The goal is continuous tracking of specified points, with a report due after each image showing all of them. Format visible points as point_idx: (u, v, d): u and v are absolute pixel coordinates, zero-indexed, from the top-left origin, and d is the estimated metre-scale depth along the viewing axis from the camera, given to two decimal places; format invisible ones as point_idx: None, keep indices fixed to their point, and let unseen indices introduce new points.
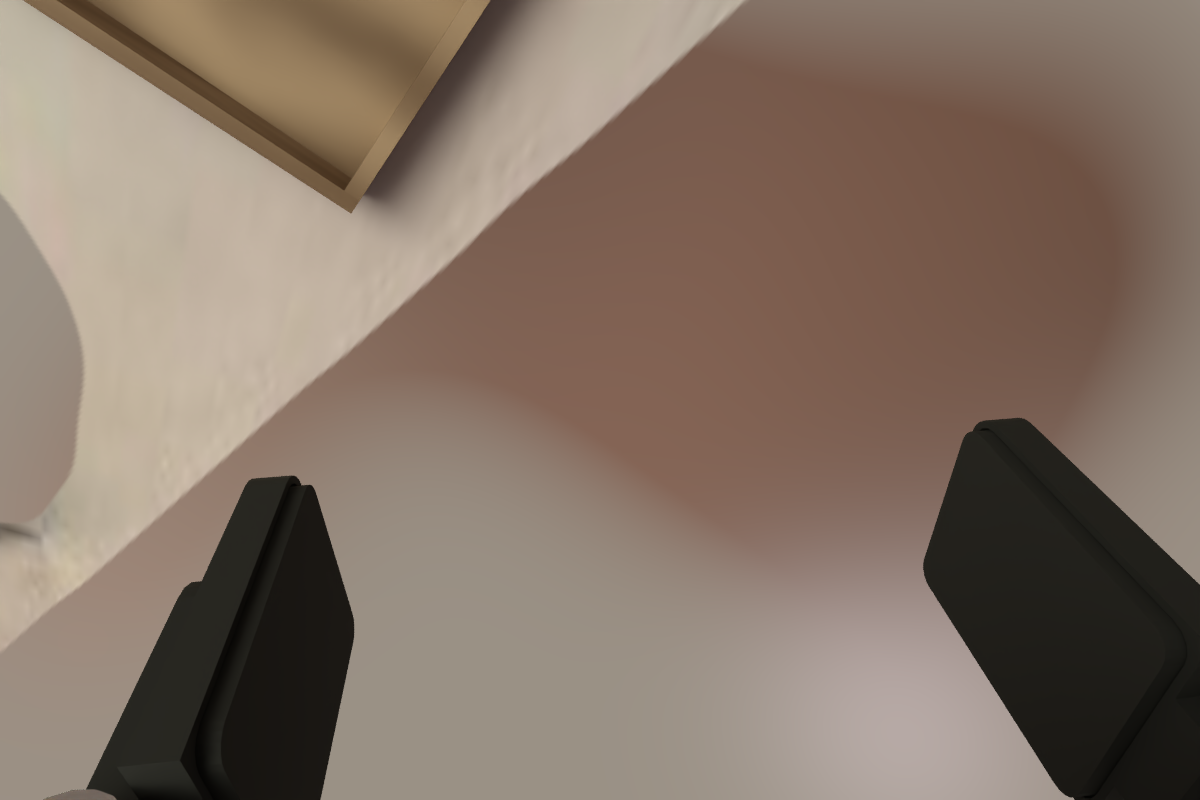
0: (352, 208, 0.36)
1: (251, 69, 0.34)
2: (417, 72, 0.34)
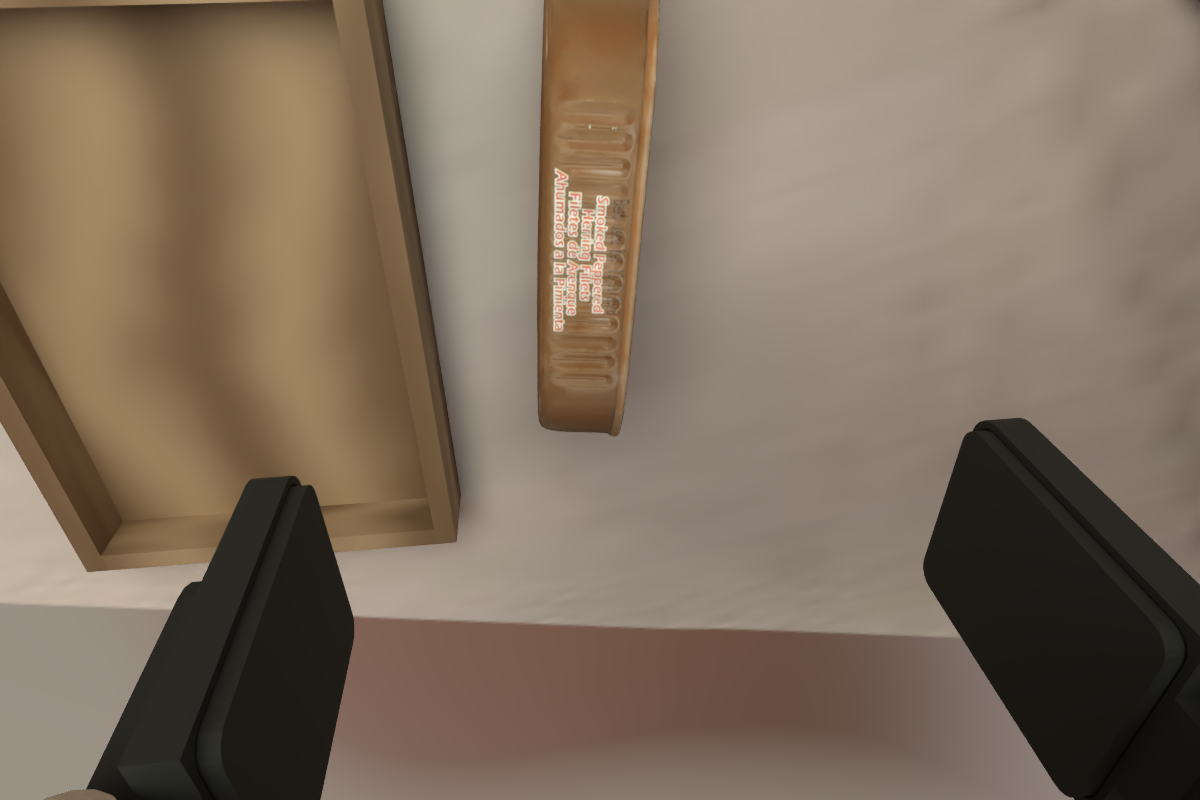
0: (93, 570, 0.29)
1: (109, 398, 0.27)
2: None
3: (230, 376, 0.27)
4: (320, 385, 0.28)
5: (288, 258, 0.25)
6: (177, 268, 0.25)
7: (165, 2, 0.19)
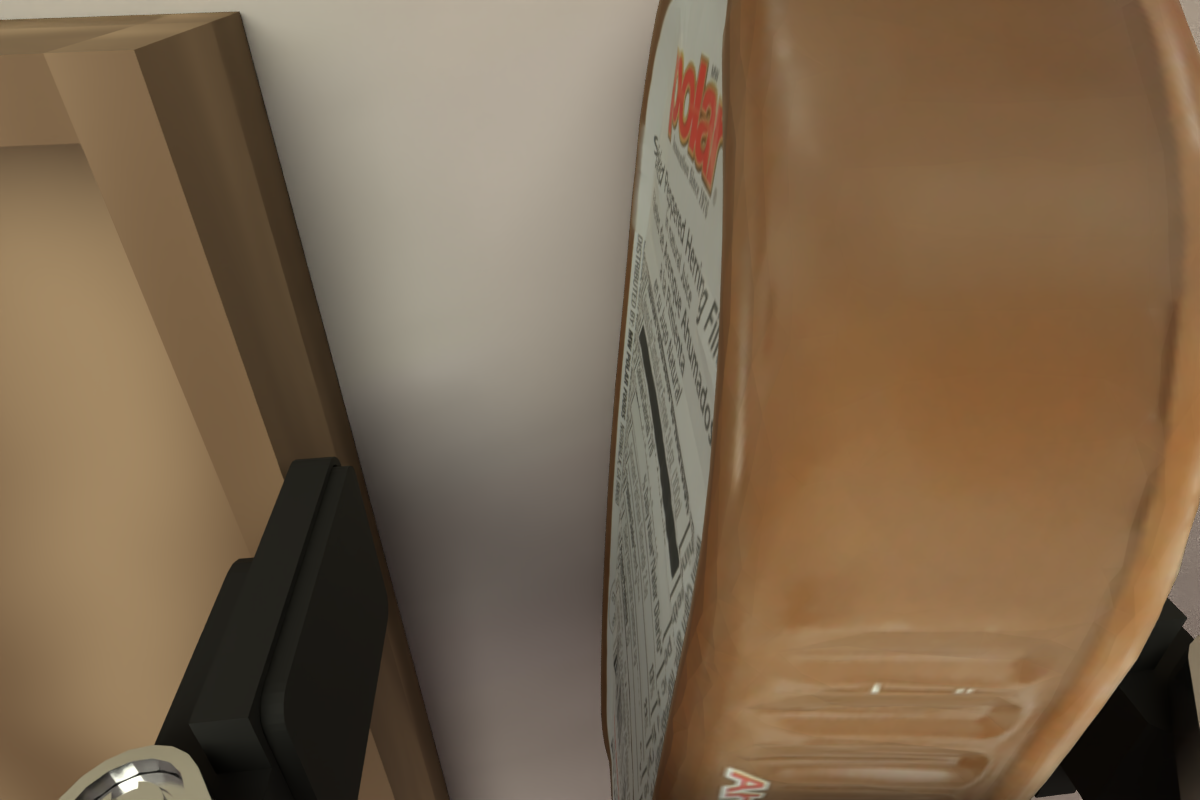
0: None
1: None
2: None
3: (43, 737, 0.15)
4: None
5: (117, 576, 0.13)
6: None
7: None
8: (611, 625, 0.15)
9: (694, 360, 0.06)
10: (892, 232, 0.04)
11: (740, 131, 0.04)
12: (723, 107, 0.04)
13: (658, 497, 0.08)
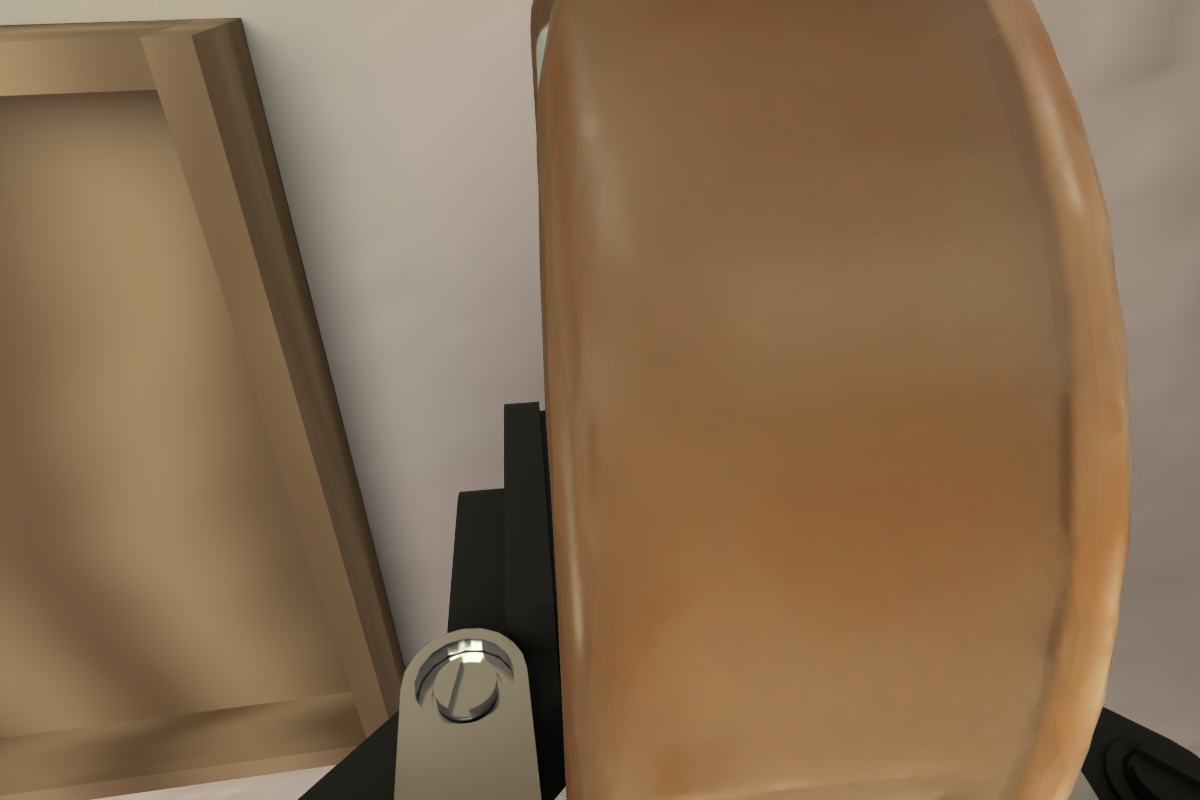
0: None
1: None
2: (161, 715, 0.24)
3: (79, 570, 0.20)
4: (206, 573, 0.21)
5: (145, 424, 0.18)
6: None
7: None
8: None
9: None
10: (725, 342, 0.03)
11: (549, 228, 0.03)
12: (539, 194, 0.04)
13: None
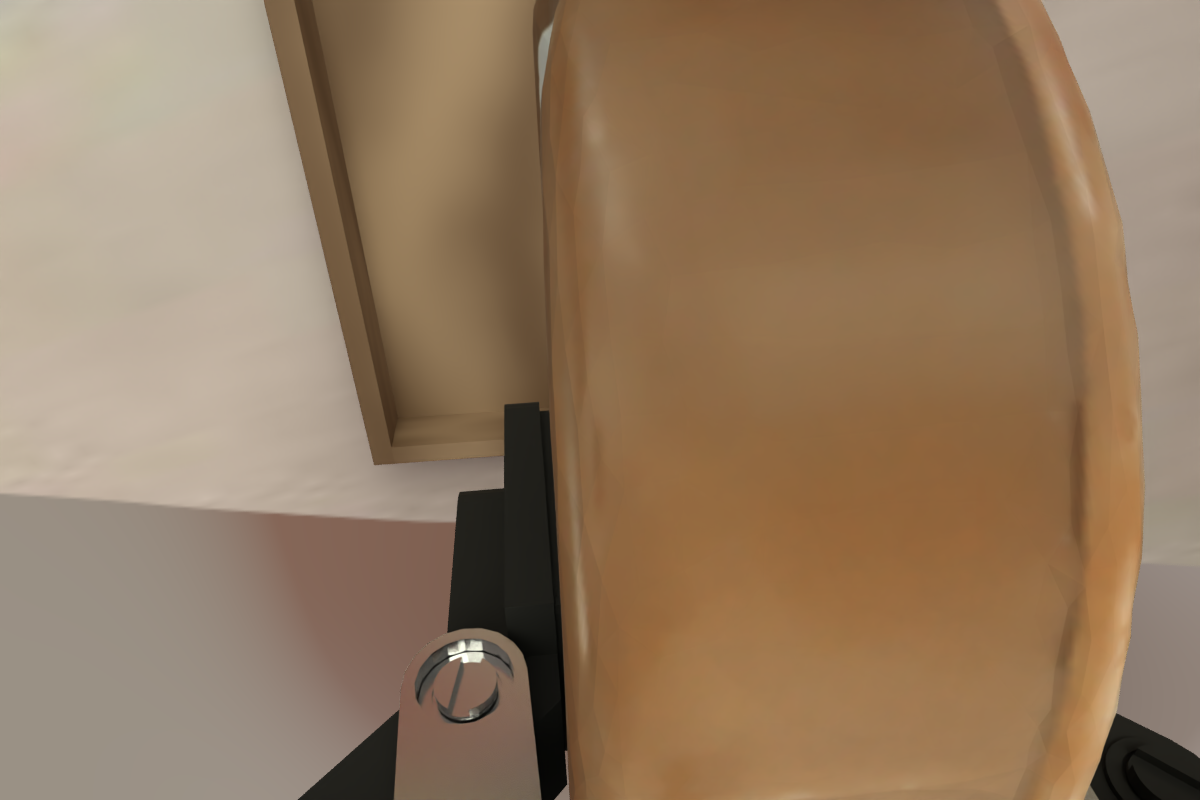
0: (380, 463, 0.29)
1: (417, 281, 0.27)
2: None
3: (539, 259, 0.27)
4: None
5: None
6: (517, 138, 0.24)
7: None
8: None
9: None
10: (734, 348, 0.03)
11: (554, 233, 0.03)
12: (543, 198, 0.04)
13: None
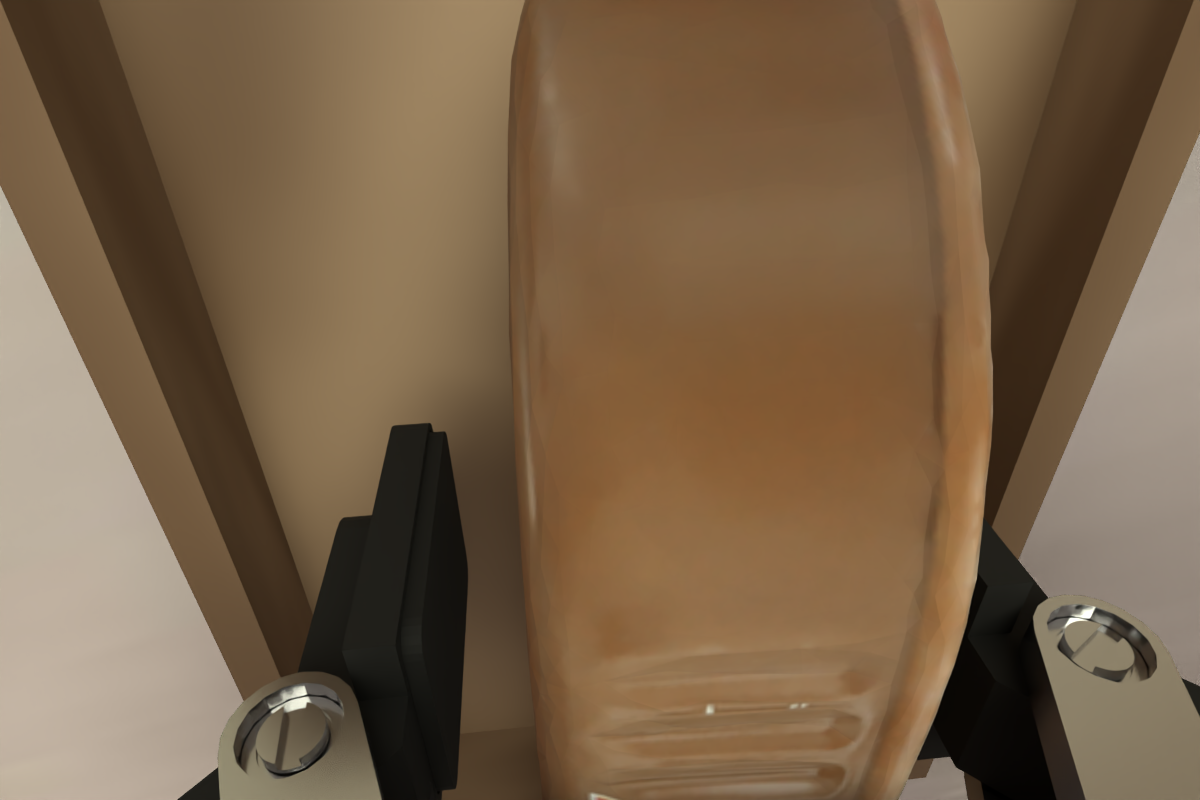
0: None
1: None
2: None
3: None
4: None
5: None
6: None
7: None
8: None
9: None
10: (653, 267, 0.04)
11: (514, 176, 0.04)
12: None
13: None
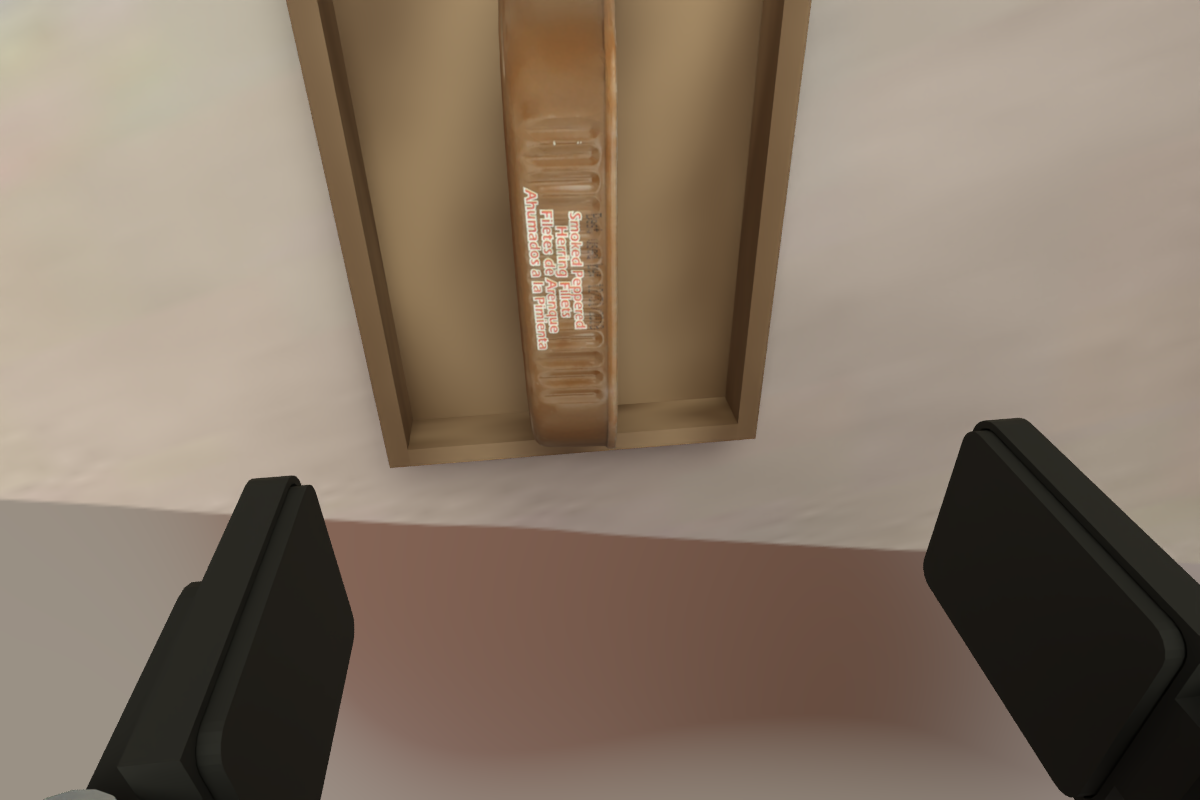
0: (396, 466, 0.28)
1: (434, 281, 0.26)
2: None
3: None
4: (643, 269, 0.27)
5: (648, 125, 0.24)
6: None
7: None
8: None
9: None
10: (533, 8, 0.16)
11: None
12: None
13: None
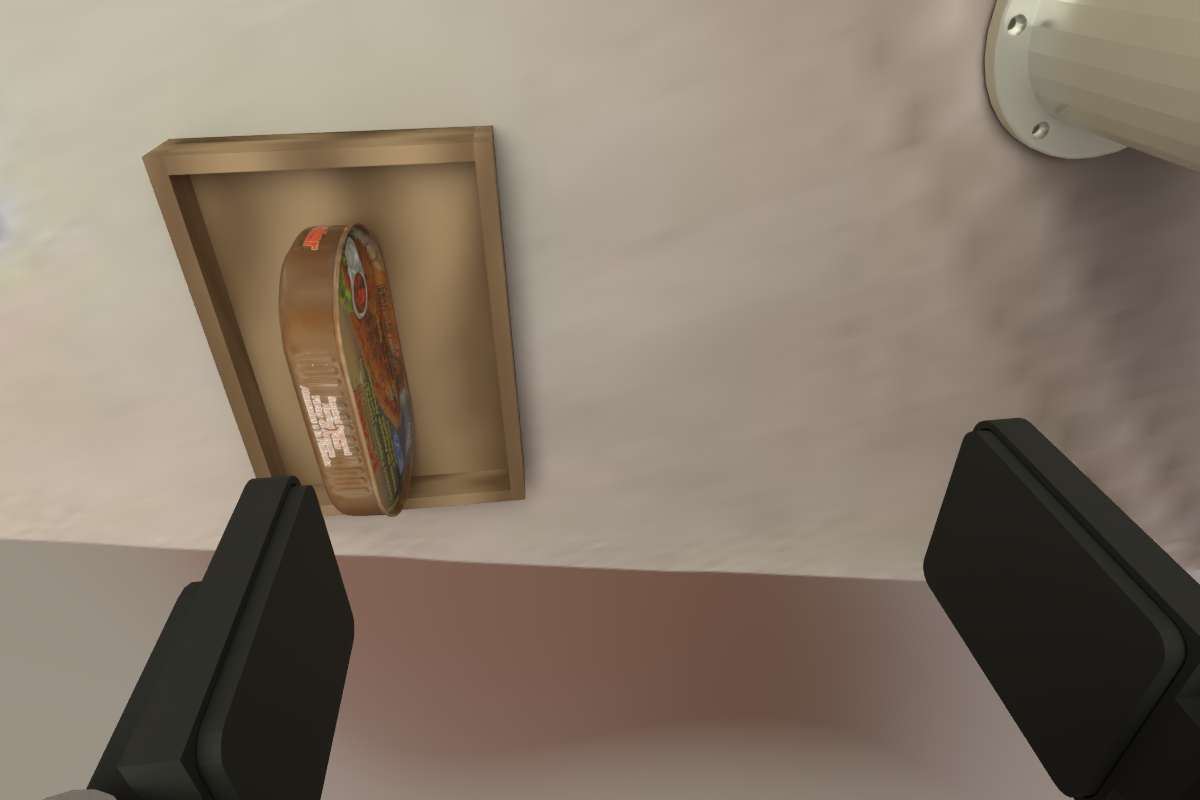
0: None
1: (295, 400, 0.40)
2: None
3: None
4: (436, 390, 0.41)
5: (424, 307, 0.38)
6: None
7: (377, 164, 0.32)
8: None
9: None
10: (295, 298, 0.29)
11: (279, 285, 0.29)
12: None
13: None
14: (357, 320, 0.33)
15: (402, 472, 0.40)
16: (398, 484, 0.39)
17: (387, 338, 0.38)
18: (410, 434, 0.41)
